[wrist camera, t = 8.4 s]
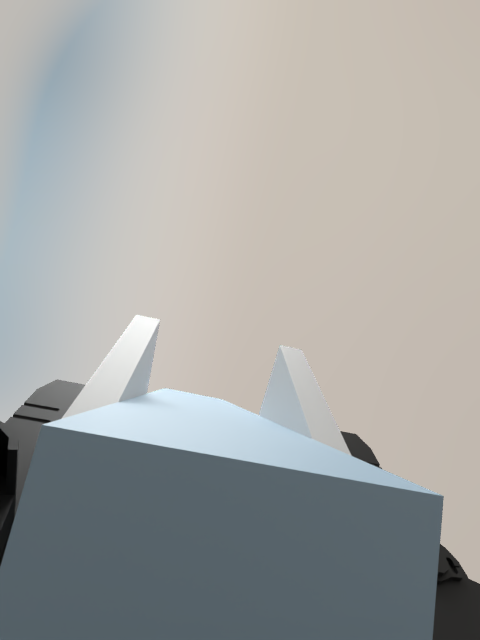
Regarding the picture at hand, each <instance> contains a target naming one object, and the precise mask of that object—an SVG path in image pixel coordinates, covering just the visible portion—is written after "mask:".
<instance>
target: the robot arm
mask: <svg viewBox="0 0 480 640" xmlns="http://www.w3.org/2000/svg"><path fill="white" fill-rule="evenodd" d="M159 323H160V320H159V319H155V318H150V317H145V316H141V315H136V316H135V317H134V319H133V320H132V322H131V323H130V324H129V326H128V327H127V328H126V330H125V331H124V333H123V334H122V335H121V337H120V338H119V340H118V341H117V342H116V344H115V345H114V347H113V348H112V349H111V351H110V352H109V353H108V355H107V356H106V358H105V359H104V360H103V362H102V363H101V364H100V366H99V368H98V369H97V370H96V371H95V373H94V374H93V376H92V377H91V378H90V380H89V381H88V383H87V384H86V385H83V384H78V383H72V382H67V381H62V380H55V381H53V382H51V383H49V384H47V385H45V386H43V387H40V388H39V389H37V390H36V391H35V392H34V393H33V394H32V395H31V396H30V397H29V398H28V400H27V401H26V402H25V403H24V405H22V406H21V407H20V408H19V409H18V410H17V411H16V412H15V413H14V415H13V417H10V418H9V420H8V421H6V423H2V422H1V421H0V566H1V563H2V559H3V556H4V552H5V549H6V546H7V542H8V539H9V535H10V532H11V529H12V525H13V522H14V518H15V515H16V512H17V508H18V505H19V501H20V498H21V494H22V491H23V488H24V484H25V481H26V477H27V474H28V471H29V467H30V464H31V460H32V457H33V453H34V450H35V447H36V443H37V440H38V436H39V433H40V430H41V426H42V425H43V424H46V423H49V422H53V421H56V420H59V419H63V418H66V417H70V416H73V415H76V414H80V413H83V412H86V411H90V410H93V409H96V408H100V407H103V406H106V405H110V404H113V403H117V402H120V401H124V400H127V399H131V398H134V397H137V396H141V395H144V394H146V393H147V389H148V384H149V378H150V373H151V367H152V362H153V356H154V350H155V344H156V340H157V334H158V329H159ZM259 415H260V416H261V417H263V418H266V419H268V420H270V421H272V422H275V423H277V424H279V425H282V426H284V427H286V428H288V429H291V430H293V431H295V432H297V433H300V434H302V435H304V436H307V437H309V438H311V439H314V440H316V441H319V442H321V443H323V444H325V445H328V446H330V447H332V448H335V449H337V450H339V451H341V452H344V453H346V454H348V455H351V456H353V457H355V458H357V459H360V460H362V461H364V462H367V463H369V464H371V465H373V466H376V467H378V468H380V467H379V462H378V461H377V459H376V457H375V455H374V454H373V452H372V450H371V448H370V447H368V445H367V444H365V443H364V442H363V441H362V440H361V439H360V438H359V437H358V436H357V435H356V434H352V433H347V432H342V431H340V430H339V428H338V426H337V424H336V422H335V420H334V417H333V415H332V413H331V411H330V409H329V407H328V405H327V403H326V400H325V398H324V396H323V394H322V392H321V390H320V388H319V386H318V384H317V381H316V379H315V377H314V375H313V373H312V371H311V369H310V367H309V364H308V362H307V360H306V358H305V356H304V354H303V352H302V350H301V349H296V348H292V347H287V346H282V345H280V346H279V350H278V353H277V356H276V360H275V363H274V367H273V370H272V373H271V377H270V379H269V383H268V386H267V389H266V393H265V396H264V399H263V403H262V406H261V409H260V412H259ZM380 469H382V468H380ZM432 640H480V584H479V583H477V582H474V581H472V580H470V579H468V577H467V575H466V574H465V572H464V570H463V569H462V567H461V565H460V564H459V562H458V561H457V560H456V559H455V558H454V557H453V556H452V555H451V553H449V551H448V550H447V549H446V548H445V547H443V546H442V545H441V544H440V549H439V562H438V574H437V587H436V600H435V613H434V626H433V639H432Z"/></svg>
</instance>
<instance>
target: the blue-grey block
mask: <svg viewBox="0 0 480 640" xmlns="http://www.w3.org/2000/svg"><path fill="white" fill-rule="evenodd" d="M442 510H443V496H442V495H440V494H438V493H435V492H433V491H431V490H428V489H426V488H424V487H422V486H419V485H417V484H415V483H412V482H410V481H408V480H406V479H403V478H401V477H399V476H396V475H394V474H392V473H389V472H387V471H385V470H383V469H380V468H378V467H376V466H373V465H371V464H369V463H367V462H364V461H362V460H360V459H357V458H355V457H353V456H351V455H348V454H346V453H344V452H341V451H339V450H337V449H335V448H332V447H330V446H328V445H325V444H323V443H321V442H319V441H316V440H314V439H311V438H309V437H307V436H304V435H302V434H300V433H297V432H295V431H293V430H291V429H288V428H286V427H284V426H282V425H279V424H277V423H275V422H272V421H270V420H268V419H266V418H263V417H261V416H259V415H257V414H254V413H252V412H250V411H248V410H245V409H243V408H241V407H238V406H236V405H234V404H232V403H229V402H227V401H224V400H222V399H218V398H212V397H207V396H202V395H197V394H192V393H187V392H182V391H177V390H171V389H166V388H164V389H160V390H157V391H154V392H150V393H147V394H144V395H141V396H137V397H134V398H131V399H127V400H124V401H120V402H117V403H113V404H110V405H106V406H103V407H100V408H96V409H93V410H90V411H86V412H83V413H80V414H76V415H73V416H70V417H66V418H63V419H59V420H56V421H53V422H49V423H46V424H43V425H42V426H41V430H40V433H39V436H38V440H37V443H36V447H35V450H34V453H33V457H32V460H31V464H30V467H29V471H28V474H27V477H26V481H25V484H24V488H23V491H22V494H21V498H20V501H19V505H18V508H17V512H16V515H15V518H14V522H13V525H12V529H11V532H10V535H9V539H8V542H7V546H6V549H5V552H4V556H3V559H2V563H1V566H0V640H432V639H433V626H434V613H435V600H436V587H437V574H438V562H439V549H440V535H441V523H442Z"/></svg>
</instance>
